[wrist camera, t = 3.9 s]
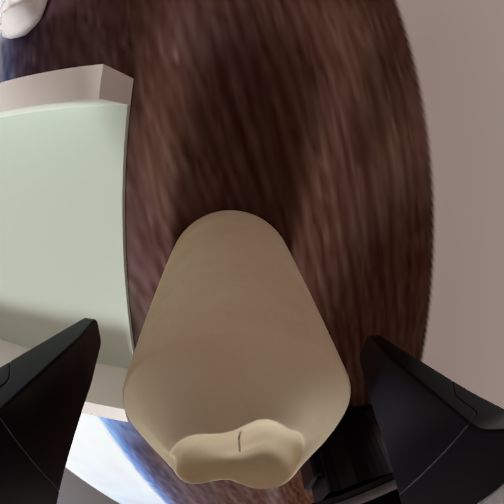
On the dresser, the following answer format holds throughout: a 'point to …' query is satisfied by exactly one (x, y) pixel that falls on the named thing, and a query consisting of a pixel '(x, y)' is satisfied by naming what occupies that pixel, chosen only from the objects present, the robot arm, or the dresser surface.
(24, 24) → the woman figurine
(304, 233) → the dresser surface
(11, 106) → the box
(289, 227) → the dresser surface
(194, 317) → the candle
